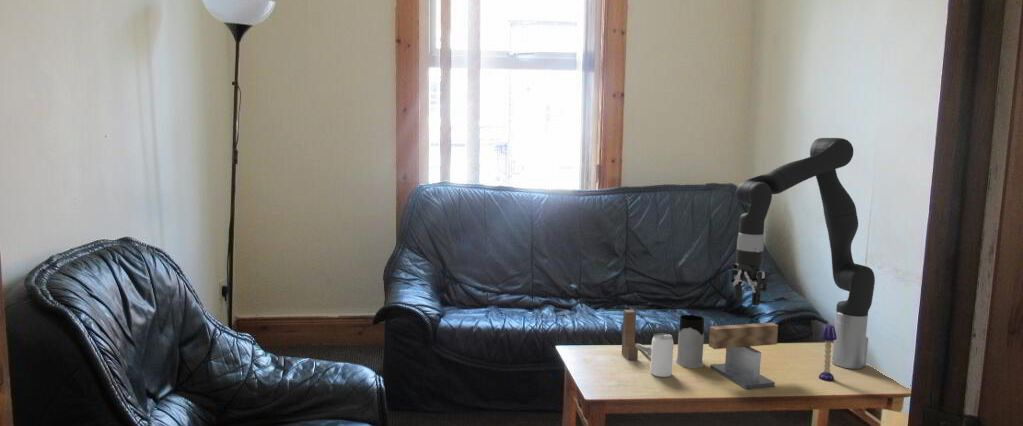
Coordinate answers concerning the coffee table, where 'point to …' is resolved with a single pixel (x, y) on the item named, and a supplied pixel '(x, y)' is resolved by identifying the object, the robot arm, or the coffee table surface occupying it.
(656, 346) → the can
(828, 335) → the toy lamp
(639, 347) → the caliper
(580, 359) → the coffee table surface
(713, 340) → the brown wooden plank
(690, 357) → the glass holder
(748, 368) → the ridge stand
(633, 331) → the wooden block
